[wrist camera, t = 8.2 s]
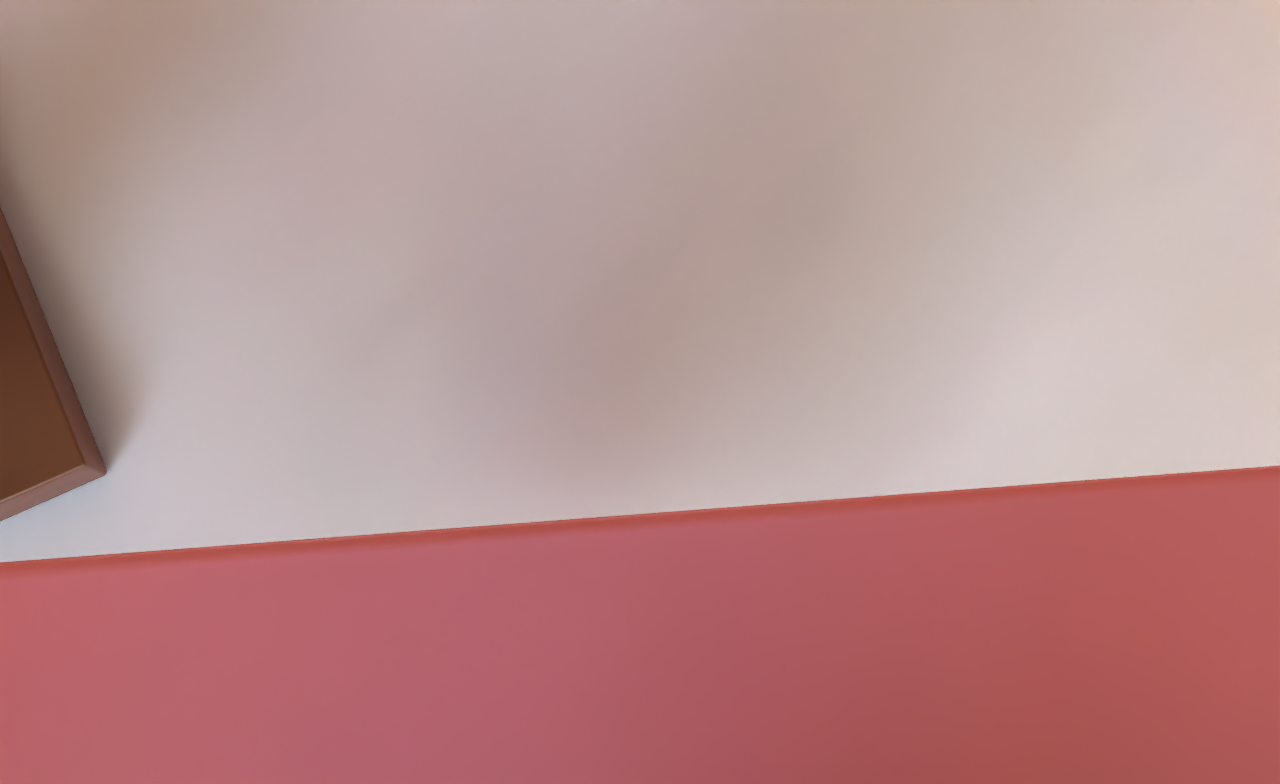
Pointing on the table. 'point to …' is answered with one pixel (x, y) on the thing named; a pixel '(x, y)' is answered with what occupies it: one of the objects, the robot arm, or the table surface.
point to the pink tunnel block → (678, 647)
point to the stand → (35, 400)
